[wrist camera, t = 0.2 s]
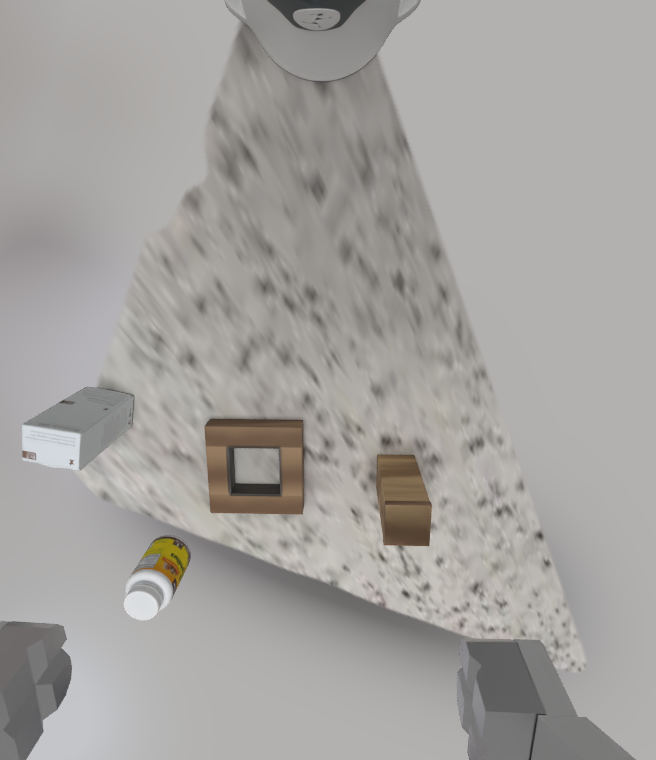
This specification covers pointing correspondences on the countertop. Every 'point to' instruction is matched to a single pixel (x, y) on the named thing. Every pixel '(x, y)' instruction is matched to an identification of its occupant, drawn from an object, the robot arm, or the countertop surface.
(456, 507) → the countertop surface
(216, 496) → the wooden square frame
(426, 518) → the peg
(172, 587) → the supplement bottle
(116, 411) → the skincare box
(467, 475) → the countertop surface
